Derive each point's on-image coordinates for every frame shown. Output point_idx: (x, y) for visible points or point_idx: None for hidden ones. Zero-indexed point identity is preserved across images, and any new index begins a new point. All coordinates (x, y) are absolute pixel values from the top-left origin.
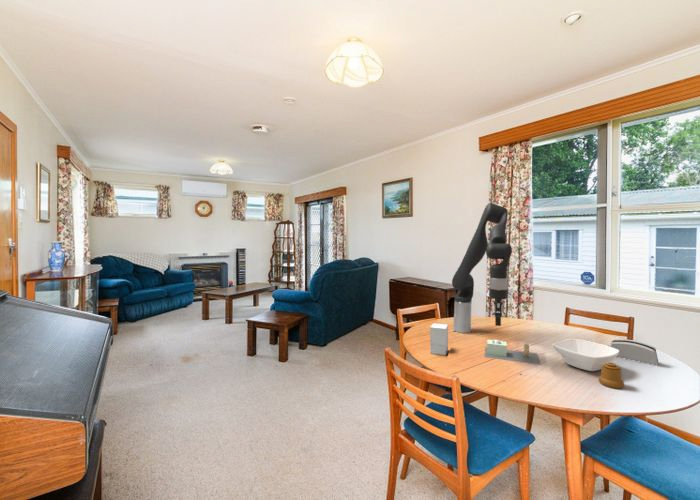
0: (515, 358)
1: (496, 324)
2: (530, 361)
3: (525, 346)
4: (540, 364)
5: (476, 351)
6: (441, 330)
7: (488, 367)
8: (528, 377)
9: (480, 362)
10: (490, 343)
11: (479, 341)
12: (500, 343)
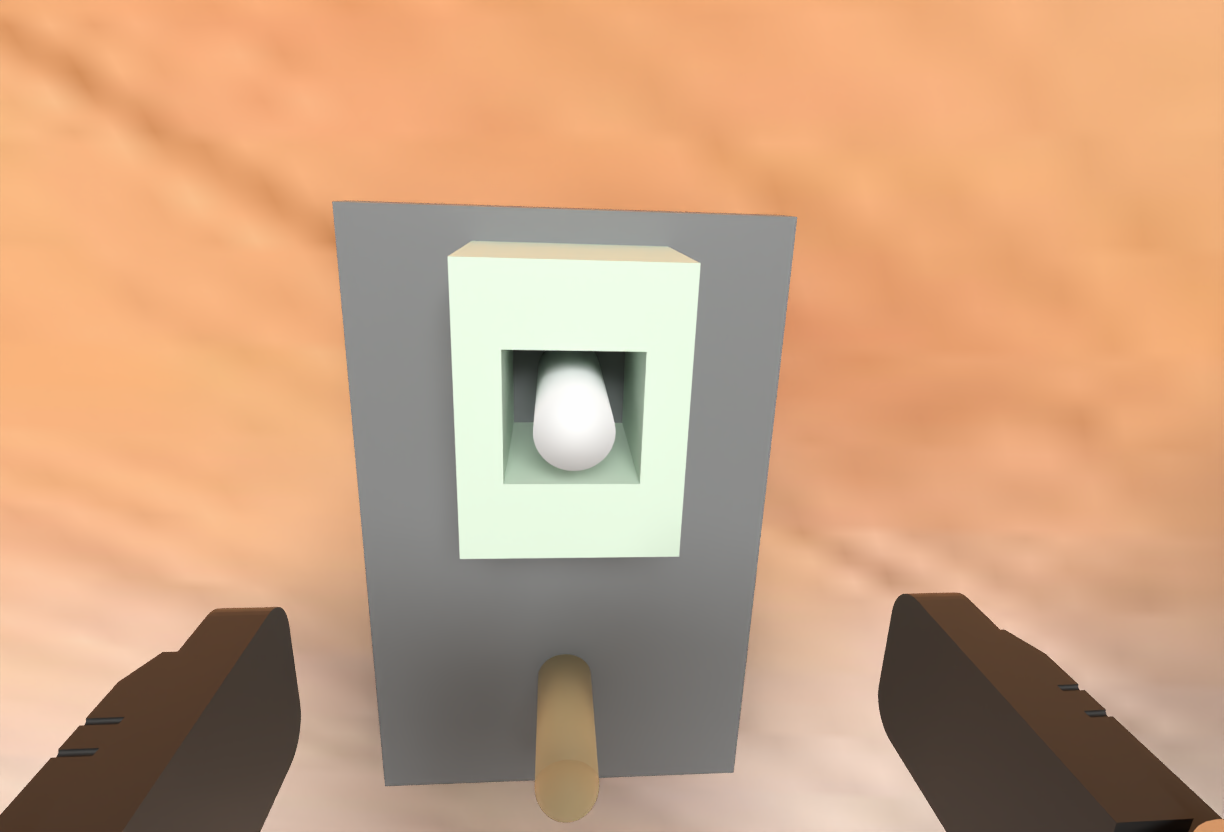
0: (466, 575)
1: (166, 657)
2: (439, 707)
3: (539, 775)
4: (389, 781)
5: (690, 85)
6: None
7: (101, 255)
8: (55, 649)
9: (236, 148)
10: (473, 315)
11: (1170, 129)
12: (638, 464)
